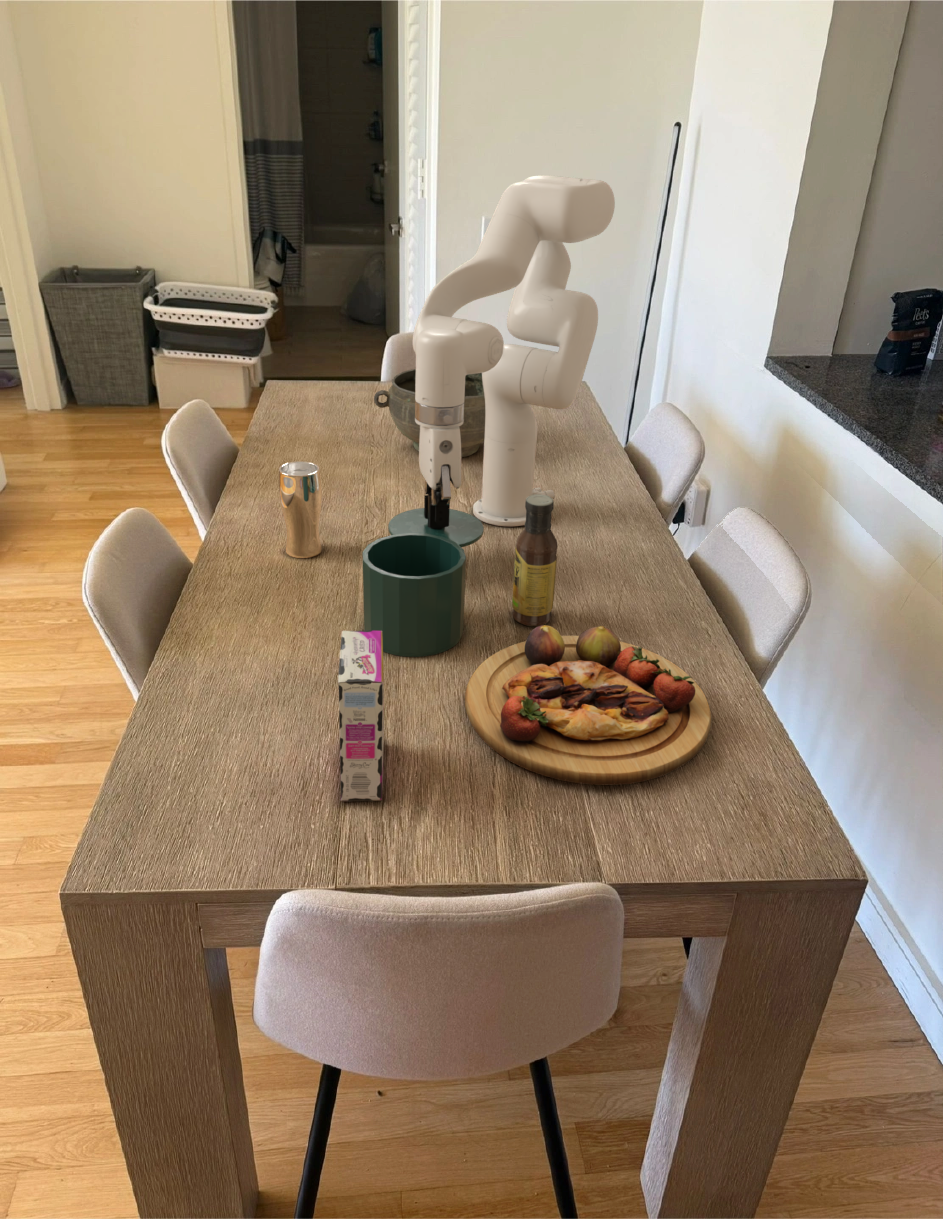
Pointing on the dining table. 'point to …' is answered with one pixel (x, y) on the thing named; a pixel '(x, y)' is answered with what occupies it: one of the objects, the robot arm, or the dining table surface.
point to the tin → (414, 593)
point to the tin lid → (459, 530)
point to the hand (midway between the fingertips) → (436, 521)
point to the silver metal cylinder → (301, 507)
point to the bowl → (404, 409)
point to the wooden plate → (587, 708)
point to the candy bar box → (361, 715)
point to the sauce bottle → (535, 564)
